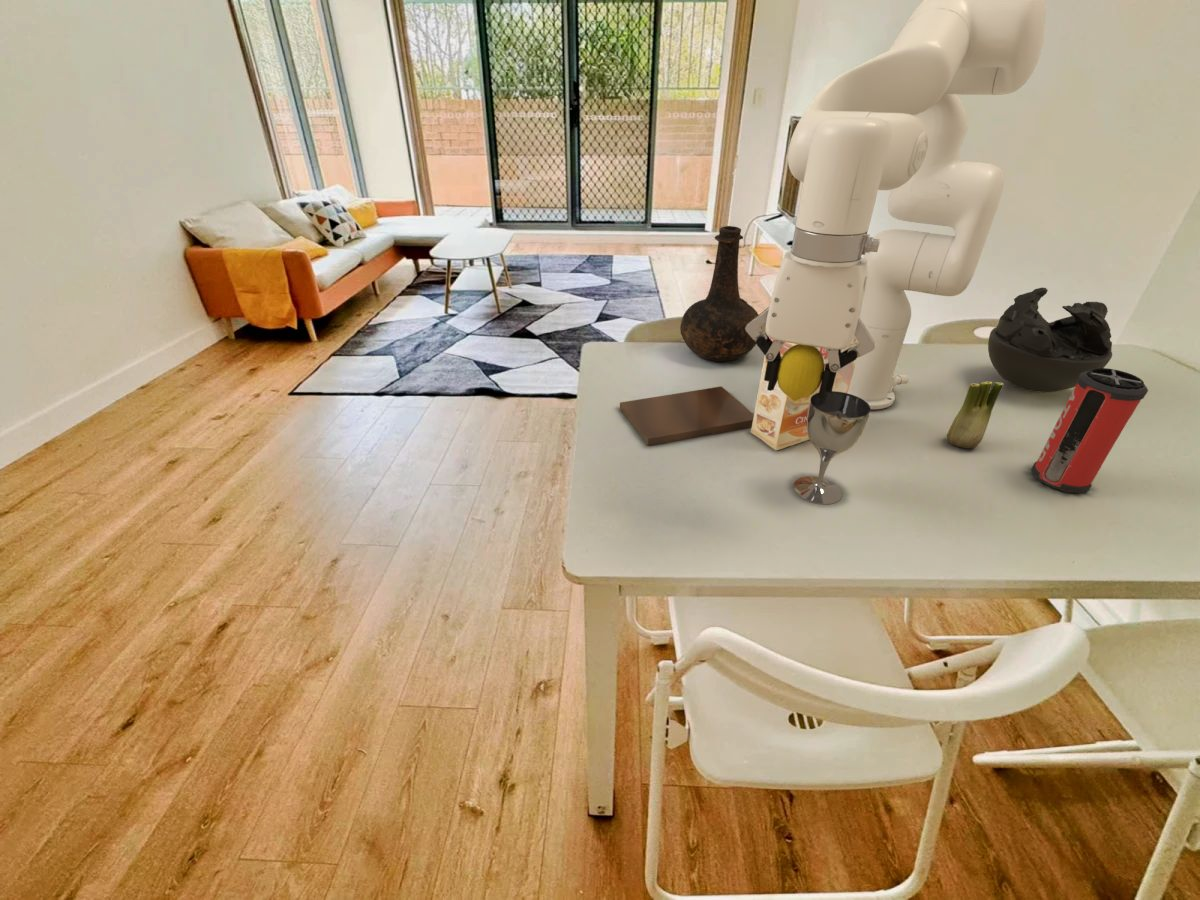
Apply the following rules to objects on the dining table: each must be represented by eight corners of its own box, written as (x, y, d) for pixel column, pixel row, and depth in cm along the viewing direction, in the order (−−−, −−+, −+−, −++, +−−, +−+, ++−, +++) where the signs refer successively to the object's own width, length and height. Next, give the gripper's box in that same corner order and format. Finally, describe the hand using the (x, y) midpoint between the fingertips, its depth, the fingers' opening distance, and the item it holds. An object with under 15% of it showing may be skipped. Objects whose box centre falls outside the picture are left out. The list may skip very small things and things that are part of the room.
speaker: (1091, 500, 84) (1156, 393, 74) (1030, 484, 88) (1085, 380, 78) (1086, 475, 90) (1146, 372, 80) (1029, 461, 93) (1080, 361, 83)
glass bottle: (770, 353, 131) (793, 227, 116) (728, 377, 120) (747, 241, 105) (707, 334, 141) (720, 215, 126) (663, 354, 130) (671, 227, 115)
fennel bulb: (977, 440, 98) (1004, 378, 92) (983, 455, 95) (1011, 391, 88) (940, 435, 100) (964, 373, 94) (945, 449, 96) (970, 386, 90)
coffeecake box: (776, 451, 95) (798, 344, 85) (748, 432, 101) (766, 329, 90) (839, 431, 101) (867, 327, 91) (810, 414, 106) (833, 314, 96)
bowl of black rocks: (1104, 417, 106) (1158, 321, 95) (984, 401, 111) (1023, 308, 101) (1067, 374, 122) (1111, 288, 111) (964, 362, 127) (996, 278, 117)
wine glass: (783, 476, 89) (801, 392, 81) (831, 473, 90) (854, 390, 82) (802, 507, 83) (824, 419, 75) (854, 504, 83) (881, 416, 75)
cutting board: (720, 392, 114) (721, 386, 113) (758, 425, 103) (759, 418, 102) (619, 409, 108) (619, 402, 107) (647, 446, 97) (647, 438, 96)
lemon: (818, 412, 70) (833, 353, 66) (773, 407, 71) (784, 349, 67) (814, 392, 75) (827, 336, 70) (771, 388, 76) (782, 332, 71)
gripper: (912, 246, 62) (869, 391, 72) (756, 232, 68) (737, 368, 78) (912, 262, 56) (866, 418, 66) (743, 245, 63) (723, 390, 72)
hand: (796, 389), depth 72 cm, fingers closed on lemon, 5 cm apart
